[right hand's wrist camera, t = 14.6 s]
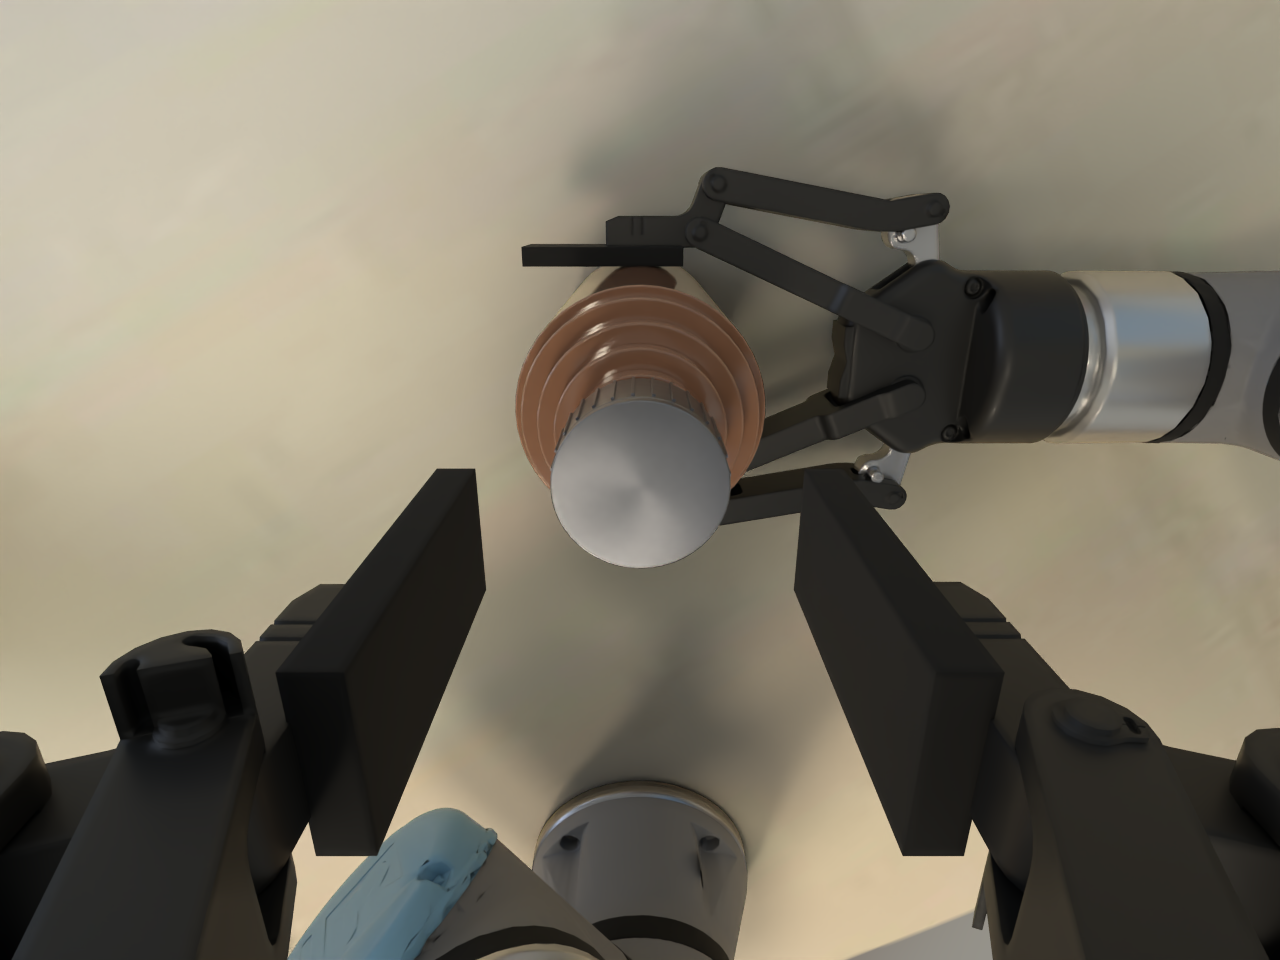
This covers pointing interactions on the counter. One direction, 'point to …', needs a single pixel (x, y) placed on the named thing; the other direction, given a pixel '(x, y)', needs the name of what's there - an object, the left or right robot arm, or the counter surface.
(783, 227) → the counter surface
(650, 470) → the cap
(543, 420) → the tan bottle
